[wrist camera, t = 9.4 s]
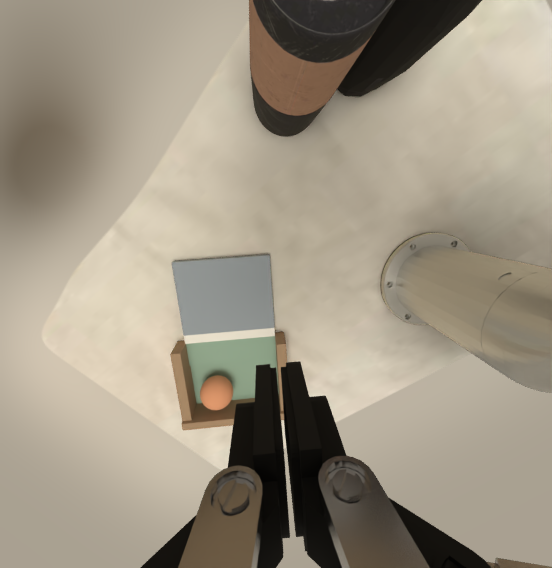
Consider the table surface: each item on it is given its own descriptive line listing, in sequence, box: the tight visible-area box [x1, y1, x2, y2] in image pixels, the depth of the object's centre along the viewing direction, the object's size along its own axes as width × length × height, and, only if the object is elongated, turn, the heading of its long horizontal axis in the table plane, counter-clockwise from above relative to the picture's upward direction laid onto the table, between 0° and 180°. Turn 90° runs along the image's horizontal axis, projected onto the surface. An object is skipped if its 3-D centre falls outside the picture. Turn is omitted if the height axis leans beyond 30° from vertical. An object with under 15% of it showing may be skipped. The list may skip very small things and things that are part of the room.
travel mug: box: [249, 0, 395, 136], centre depth 22 cm, size 8×8×20 cm
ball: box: [200, 375, 233, 410], centre depth 38 cm, size 4×4×4 cm
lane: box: [170, 254, 287, 430], centre depth 36 cm, size 14×22×4 cm, turn 3°
